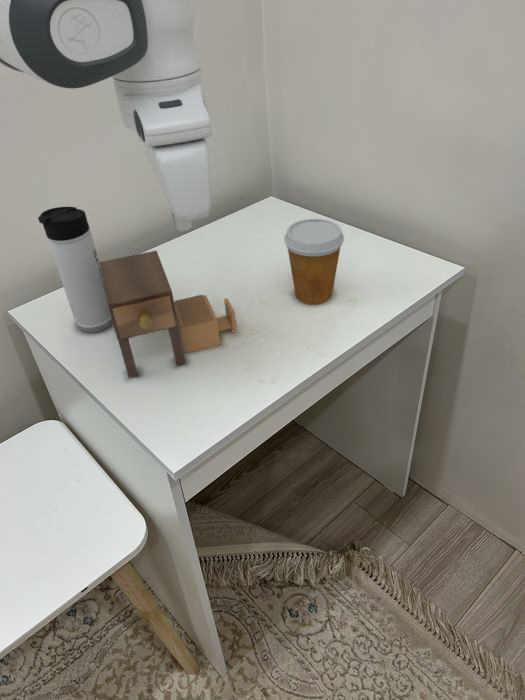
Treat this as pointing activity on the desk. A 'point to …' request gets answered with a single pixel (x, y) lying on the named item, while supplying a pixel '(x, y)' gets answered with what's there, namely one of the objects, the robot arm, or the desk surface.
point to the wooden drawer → (202, 322)
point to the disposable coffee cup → (313, 258)
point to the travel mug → (78, 266)
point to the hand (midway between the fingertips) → (182, 224)
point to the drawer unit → (140, 303)
